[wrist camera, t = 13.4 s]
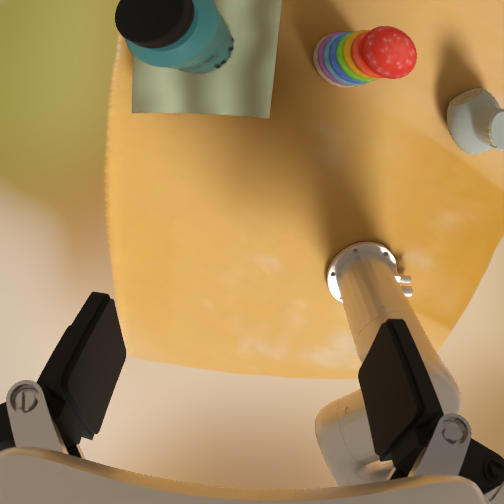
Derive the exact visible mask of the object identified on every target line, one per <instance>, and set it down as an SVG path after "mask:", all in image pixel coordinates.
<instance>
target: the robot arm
mask: <svg viewBox="0 0 504 504" xmlns="http://www.w3.org/2000/svg"><path fill="white" fill-rule="evenodd" d="M399 282H400V283H410V282H411V276H409V275H400V274H398V272H397V264H396V260H395V258H394V256H393V254H392V253H391V251H390V250H389V249H388V248H387V247H385V246H384V245H382V244H379V243H376V242H370V241H367V242H359V243H355V244H353V245H350V246H348V247H346V248H345V249H343V250H342V251H341V252H340V253H338V254H337V255H336V256H335V258H334V259H333V260H332V262H331V264H330V266H329V268H328V271H327V284H328V287H329V290H330V292H331V294H332V295H333V296H334V297H335V298H336V299H337V300H339V301H340V302H343V306H344V309H345V312H346V315H347V319H348V322H349V326H350V329H351V332H352V336H353V339H354V343H355V347H356V350H357V353H358V356H359V359H360V361H361V363H362V366H361V368H360V370H359V374H358V378H359V383H360V387H361V389H359V390H357V391H355V392H353V393H351V394H349V395H346V396H344V397H342V398H340V399H338V400H336V401H334V402H332V403H330V404H328V405H326V406H325V407H324V408H323V409H321V410H320V412H319V413H318V415H317V418H316V420H315V433H316V437H317V441H318V444H319V447H320V450H321V452H322V454H323V457H324V459H325V461H326V463H327V466H328V468H329V470H330V472H331V474H332V476H333V478H334V481H335V483H336V485H337V487H329V488H313V489H248V488H247V489H246V488H232V487H221V486H210V485H201V484H194V483H186V482H180V481H174V480H168V479H163V478H157V477H152V476H147V475H143V474H138V473H134V472H130V471H126V470H122V469H118V468H114V467H110V466H106V465H102V464H99V463H96V462H92V461H89V460H85V458H84V455H83V453H82V451H81V449H80V446H79V443H80V440H81V437H84V438H87V439H90V440H92V439H93V436H94V434H97V433H98V432H99V430H100V428H101V425H102V422H103V419H104V416H105V413H106V410H107V407H108V405H109V402H110V399H111V396H112V394H113V391H114V388H115V385H116V382H117V380H118V377H119V375H120V372H121V369H122V367H123V364H124V362H125V359H126V348H125V344H124V340H123V337H122V333H121V329H120V324H119V320H118V316H117V312H116V307H115V302H114V300H113V299H110V296H109V295H108V294H105V293H99V292H92V293H91V295H90V296H89V298H88V299H87V301H86V302H85V304H84V305H83V307H82V309H81V310H80V312H79V314H78V315H77V317H76V318H75V320H74V322H73V323H72V325H70V326H69V327H68V328H67V329H66V331H65V333H64V334H63V336H62V338H61V340H60V341H59V343H58V344H57V346H56V348H55V350H54V351H53V353H52V355H51V357H50V359H49V361H48V362H47V364H46V366H45V368H44V370H43V371H42V373H41V375H40V377H39V379H38V381H37V383H35V382H33V381H30V380H24V381H20V382H18V383H16V384H14V385H13V386H12V387H11V388H10V390H9V391H8V394H7V397H6V402H5V403H2V404H0V504H504V459H503V458H502V457H501V456H500V455H498V454H497V453H495V452H493V451H492V450H490V449H488V448H487V447H485V446H483V445H482V444H480V443H478V442H477V441H475V440H473V439H472V438H471V428H470V425H469V423H468V422H467V421H466V419H465V418H463V417H462V416H461V415H458V413H459V411H460V408H461V393H460V390H459V387H458V384H457V382H456V381H455V379H454V377H453V375H452V374H451V372H450V371H449V370H448V368H447V367H446V365H445V364H444V363H443V361H442V360H441V358H440V357H439V355H438V354H437V352H436V351H435V349H434V348H433V346H432V344H431V342H430V341H429V339H428V337H427V335H426V333H425V331H424V330H423V328H422V326H421V324H420V322H419V320H418V318H417V316H416V314H415V312H414V310H413V309H412V307H411V305H410V303H409V301H408V299H407V297H410V296H411V295H412V287H411V286H400V285H399ZM378 460H380V461H388V460H392V462H389V463H386V464H380V463H378V462H377V461H378Z"/></svg>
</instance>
